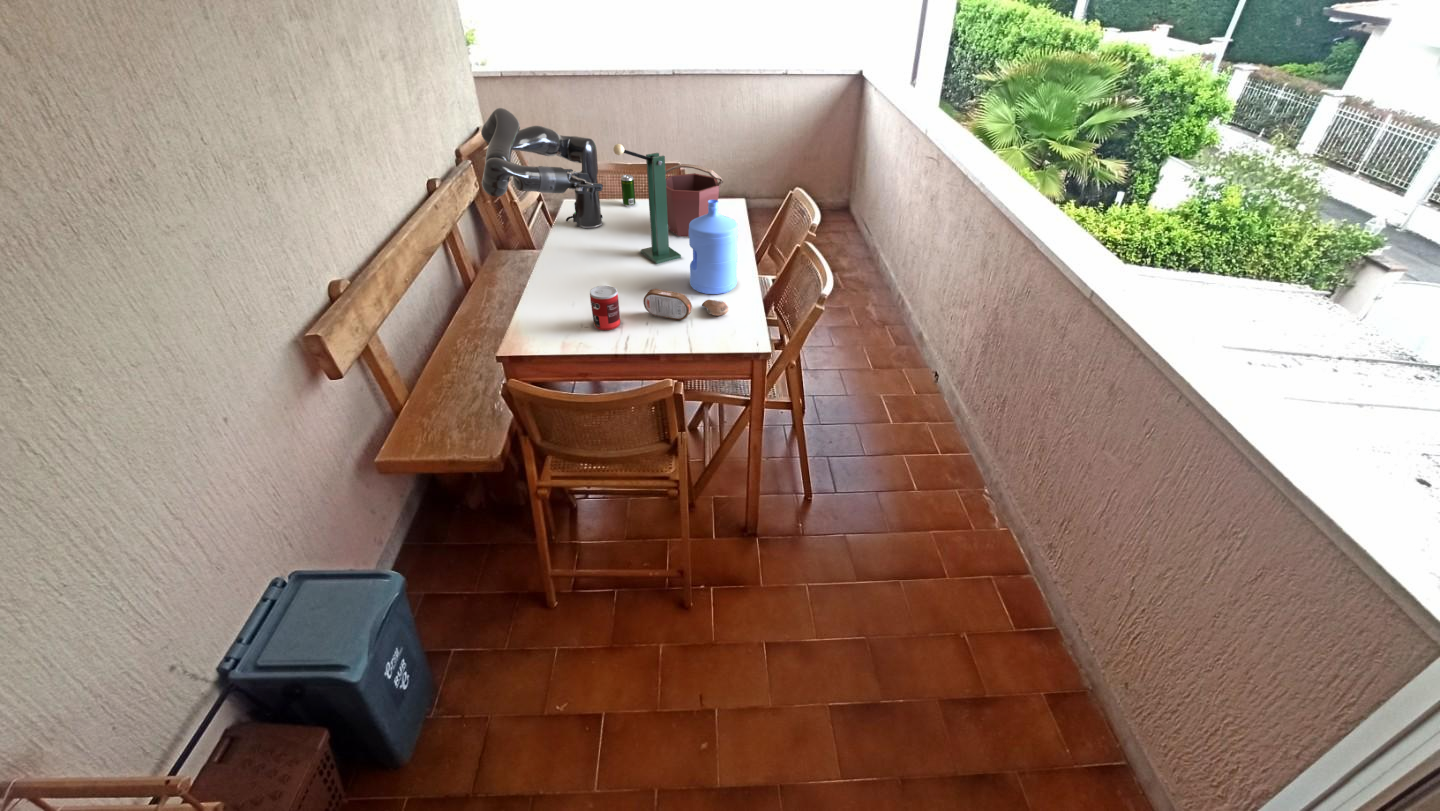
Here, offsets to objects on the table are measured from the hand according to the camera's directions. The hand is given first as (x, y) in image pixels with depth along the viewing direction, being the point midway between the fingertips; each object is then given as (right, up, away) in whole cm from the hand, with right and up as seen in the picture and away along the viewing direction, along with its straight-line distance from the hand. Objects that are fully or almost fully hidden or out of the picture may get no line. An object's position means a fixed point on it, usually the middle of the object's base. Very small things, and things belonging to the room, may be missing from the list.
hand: (594, 182), depth 204 cm
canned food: (+6, -47, -12) cm, 49 cm away
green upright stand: (+18, -17, +29) cm, 38 cm away
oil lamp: (+38, -42, -5) cm, 57 cm away
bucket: (+28, -2, +49) cm, 57 cm away
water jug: (+38, -31, +10) cm, 50 cm away
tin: (+24, -44, -8) cm, 51 cm away
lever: (+12, +9, +5) cm, 16 cm away
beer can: (+1, +15, +73) cm, 75 cm away
